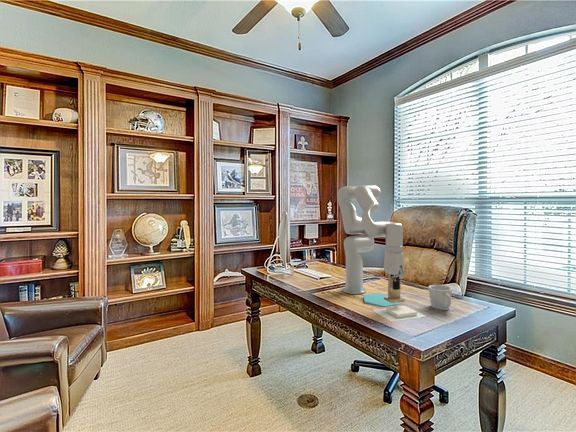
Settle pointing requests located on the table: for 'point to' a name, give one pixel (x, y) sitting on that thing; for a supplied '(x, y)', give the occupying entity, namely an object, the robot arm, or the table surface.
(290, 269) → the table surface
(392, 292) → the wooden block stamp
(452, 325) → the table surface
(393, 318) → the board
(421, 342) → the table surface
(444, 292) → the mug
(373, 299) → the plaque
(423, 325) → the table surface
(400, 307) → the tile
